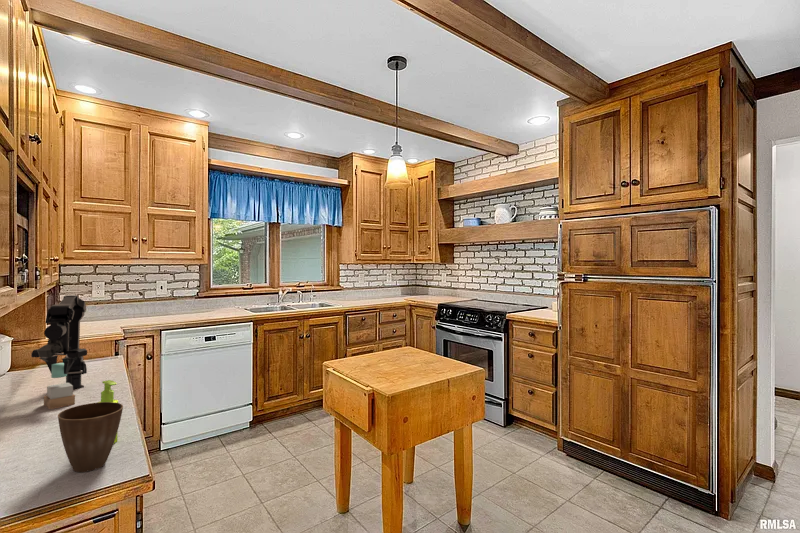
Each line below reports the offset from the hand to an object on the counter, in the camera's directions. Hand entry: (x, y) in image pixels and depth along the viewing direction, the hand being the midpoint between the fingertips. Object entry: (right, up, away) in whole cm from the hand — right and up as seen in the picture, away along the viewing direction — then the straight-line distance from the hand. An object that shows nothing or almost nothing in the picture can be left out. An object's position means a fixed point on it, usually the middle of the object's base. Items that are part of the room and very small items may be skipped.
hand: (59, 373), depth 170 cm
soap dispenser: (+45, -13, -36) cm, 59 cm away
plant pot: (+51, -13, -52) cm, 74 cm away
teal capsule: (0, -1, 0) cm, 1 cm away
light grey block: (0, -9, 0) cm, 9 cm away
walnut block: (0, -13, 0) cm, 13 cm away
